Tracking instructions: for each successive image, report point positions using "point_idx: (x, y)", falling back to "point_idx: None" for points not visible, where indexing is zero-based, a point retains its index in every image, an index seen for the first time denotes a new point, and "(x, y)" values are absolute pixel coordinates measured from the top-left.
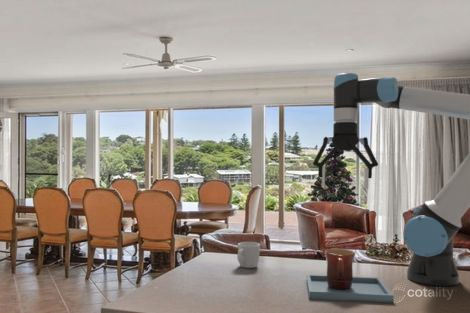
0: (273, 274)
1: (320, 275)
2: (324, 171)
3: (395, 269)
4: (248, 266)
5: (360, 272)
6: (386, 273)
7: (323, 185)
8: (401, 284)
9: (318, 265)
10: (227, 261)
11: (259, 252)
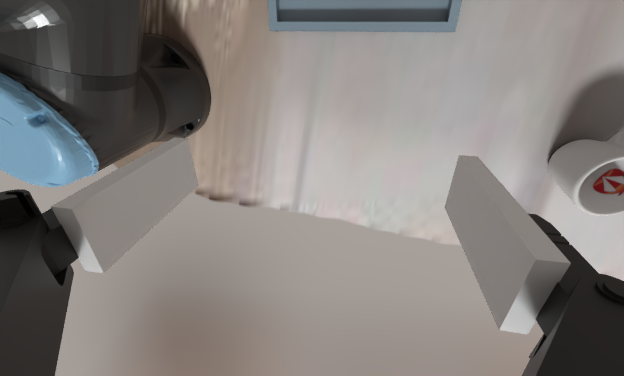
0: (525, 88)
1: (417, 26)
2: (517, 230)
3: (228, 165)
4: (585, 139)
5: (301, 133)
6: (248, 131)
7: (474, 164)
8: (227, 39)
9: (383, 184)
10: None
11: (565, 171)
